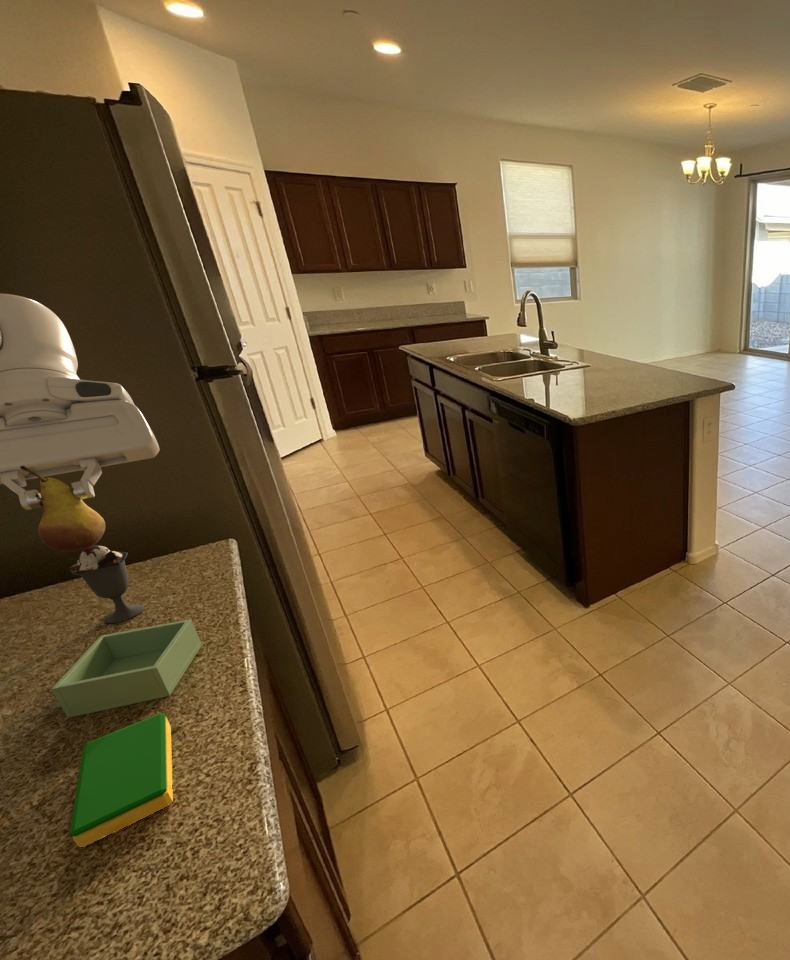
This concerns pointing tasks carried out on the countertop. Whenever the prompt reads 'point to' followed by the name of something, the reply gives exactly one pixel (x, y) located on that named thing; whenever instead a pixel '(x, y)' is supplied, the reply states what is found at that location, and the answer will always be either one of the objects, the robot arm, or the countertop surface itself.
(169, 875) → the countertop surface
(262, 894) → the countertop surface
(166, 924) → the countertop surface
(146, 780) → the dish sponge
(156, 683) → the bin
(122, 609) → the sundae
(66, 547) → the fruit
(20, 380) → the robot arm
